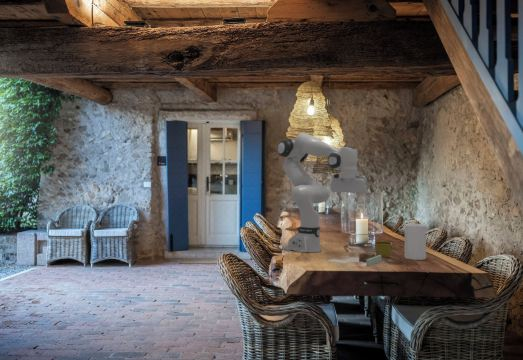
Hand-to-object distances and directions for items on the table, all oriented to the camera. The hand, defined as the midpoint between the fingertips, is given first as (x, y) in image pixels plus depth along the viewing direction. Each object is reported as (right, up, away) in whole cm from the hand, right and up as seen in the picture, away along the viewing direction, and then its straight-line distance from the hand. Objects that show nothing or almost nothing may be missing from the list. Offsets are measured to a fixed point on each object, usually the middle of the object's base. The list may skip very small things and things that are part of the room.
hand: (348, 200), depth 253 cm
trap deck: (0, -31, -17) cm, 36 cm away
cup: (+37, -32, +1) cm, 49 cm away
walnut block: (+6, -30, -18) cm, 35 cm away
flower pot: (+18, -32, -3) cm, 37 cm away
